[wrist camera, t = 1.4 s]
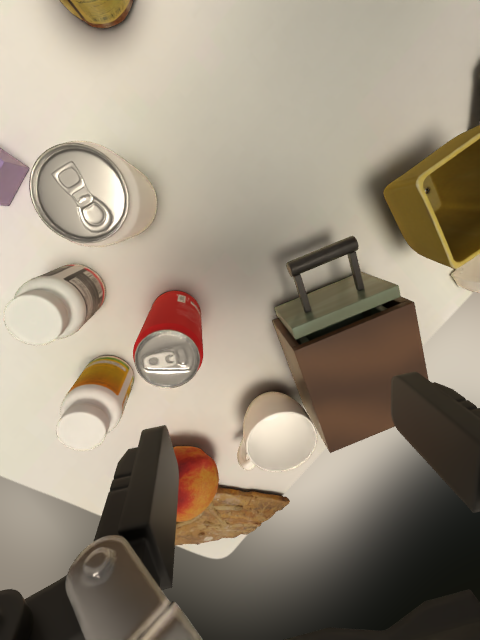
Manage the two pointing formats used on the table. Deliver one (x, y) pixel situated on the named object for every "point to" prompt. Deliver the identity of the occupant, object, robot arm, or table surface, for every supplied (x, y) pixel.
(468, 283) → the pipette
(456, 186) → the flower pot
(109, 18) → the sauce bottle
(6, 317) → the pill bottle
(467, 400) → the robot arm
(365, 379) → the cabinet
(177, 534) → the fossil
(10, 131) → the table surface
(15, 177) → the purple cube
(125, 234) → the can
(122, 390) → the supplement bottle
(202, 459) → the fruit
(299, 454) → the cup
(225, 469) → the table surface
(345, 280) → the drawer
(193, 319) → the beverage can
